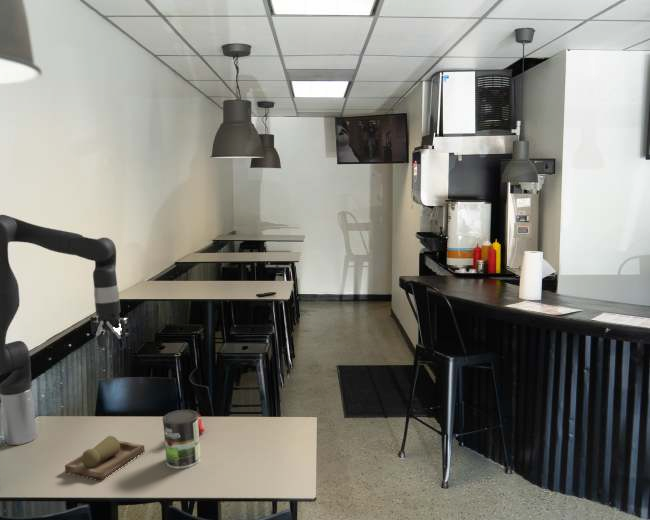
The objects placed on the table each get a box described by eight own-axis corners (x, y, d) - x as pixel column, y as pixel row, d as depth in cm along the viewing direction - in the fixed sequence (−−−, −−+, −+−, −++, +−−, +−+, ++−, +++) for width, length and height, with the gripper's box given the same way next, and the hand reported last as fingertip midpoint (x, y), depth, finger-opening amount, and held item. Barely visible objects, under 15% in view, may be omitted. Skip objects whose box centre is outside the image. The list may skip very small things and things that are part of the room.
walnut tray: (65, 473, 173) (64, 465, 173) (110, 446, 190) (109, 439, 189) (101, 481, 168) (101, 473, 167) (144, 452, 184) (144, 445, 184)
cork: (121, 454, 180) (96, 470, 170) (106, 455, 182) (80, 470, 172) (118, 435, 180) (92, 450, 170) (102, 436, 182) (76, 450, 172)
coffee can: (184, 472, 171) (180, 426, 169) (159, 464, 176) (154, 419, 174) (208, 456, 179) (205, 412, 177) (184, 449, 185) (180, 407, 183)
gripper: (81, 301, 190) (87, 349, 193) (115, 303, 185) (120, 353, 187) (99, 296, 197) (104, 342, 200) (132, 298, 191) (137, 346, 194)
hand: (112, 347), depth 193 cm, fingers open, 8 cm apart
